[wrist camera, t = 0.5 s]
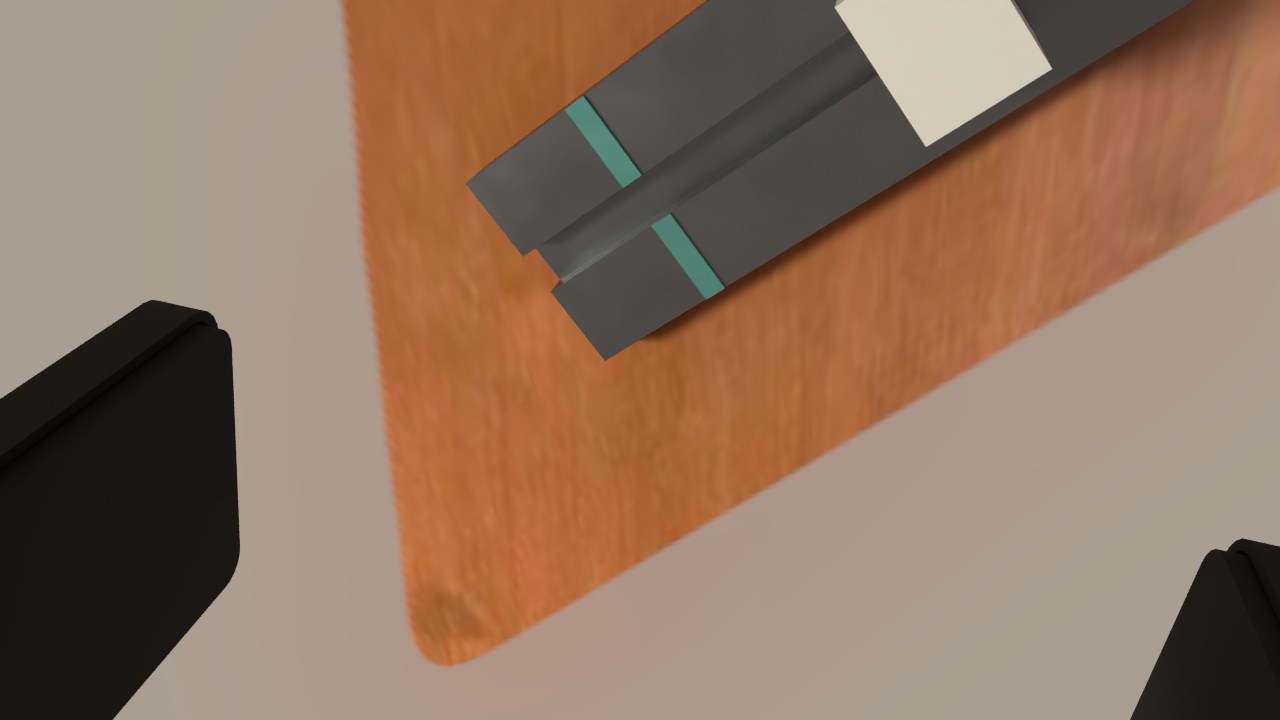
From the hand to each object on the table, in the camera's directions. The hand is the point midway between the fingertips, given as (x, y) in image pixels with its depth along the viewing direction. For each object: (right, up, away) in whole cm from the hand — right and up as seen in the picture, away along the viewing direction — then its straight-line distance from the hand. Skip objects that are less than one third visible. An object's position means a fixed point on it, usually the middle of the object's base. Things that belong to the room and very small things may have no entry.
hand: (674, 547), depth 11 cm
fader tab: (+9, +13, +23) cm, 28 cm away
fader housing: (+5, +11, +26) cm, 29 cm away
